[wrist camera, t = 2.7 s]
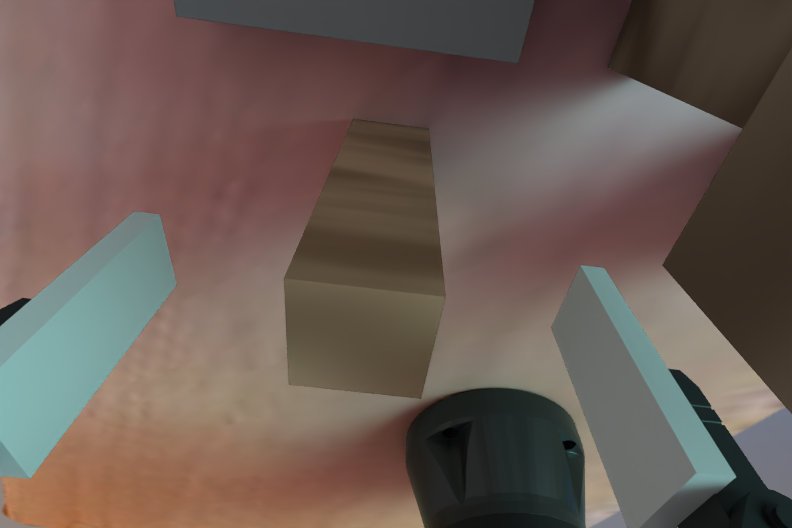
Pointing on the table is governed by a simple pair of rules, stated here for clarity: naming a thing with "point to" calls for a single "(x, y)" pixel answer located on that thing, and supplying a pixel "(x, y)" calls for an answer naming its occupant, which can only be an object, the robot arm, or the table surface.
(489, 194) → the table surface
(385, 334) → the peg
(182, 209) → the table surface
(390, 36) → the socket
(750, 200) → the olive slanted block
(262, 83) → the table surface
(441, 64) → the table surface
